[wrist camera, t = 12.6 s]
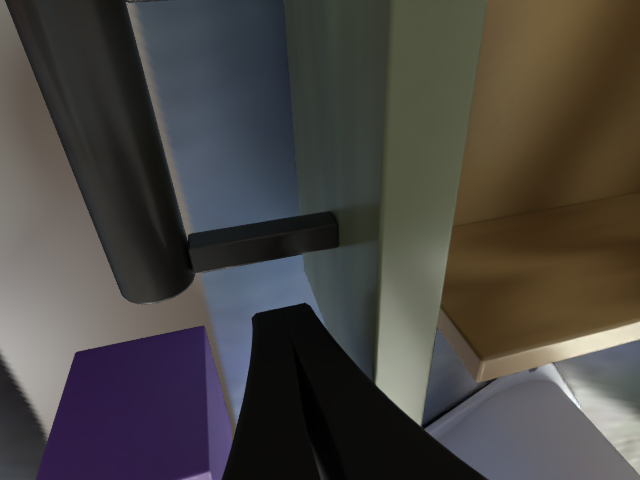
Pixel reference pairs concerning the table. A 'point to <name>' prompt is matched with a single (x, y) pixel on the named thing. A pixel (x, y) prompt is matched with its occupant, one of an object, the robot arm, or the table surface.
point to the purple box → (141, 413)
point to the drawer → (394, 174)
